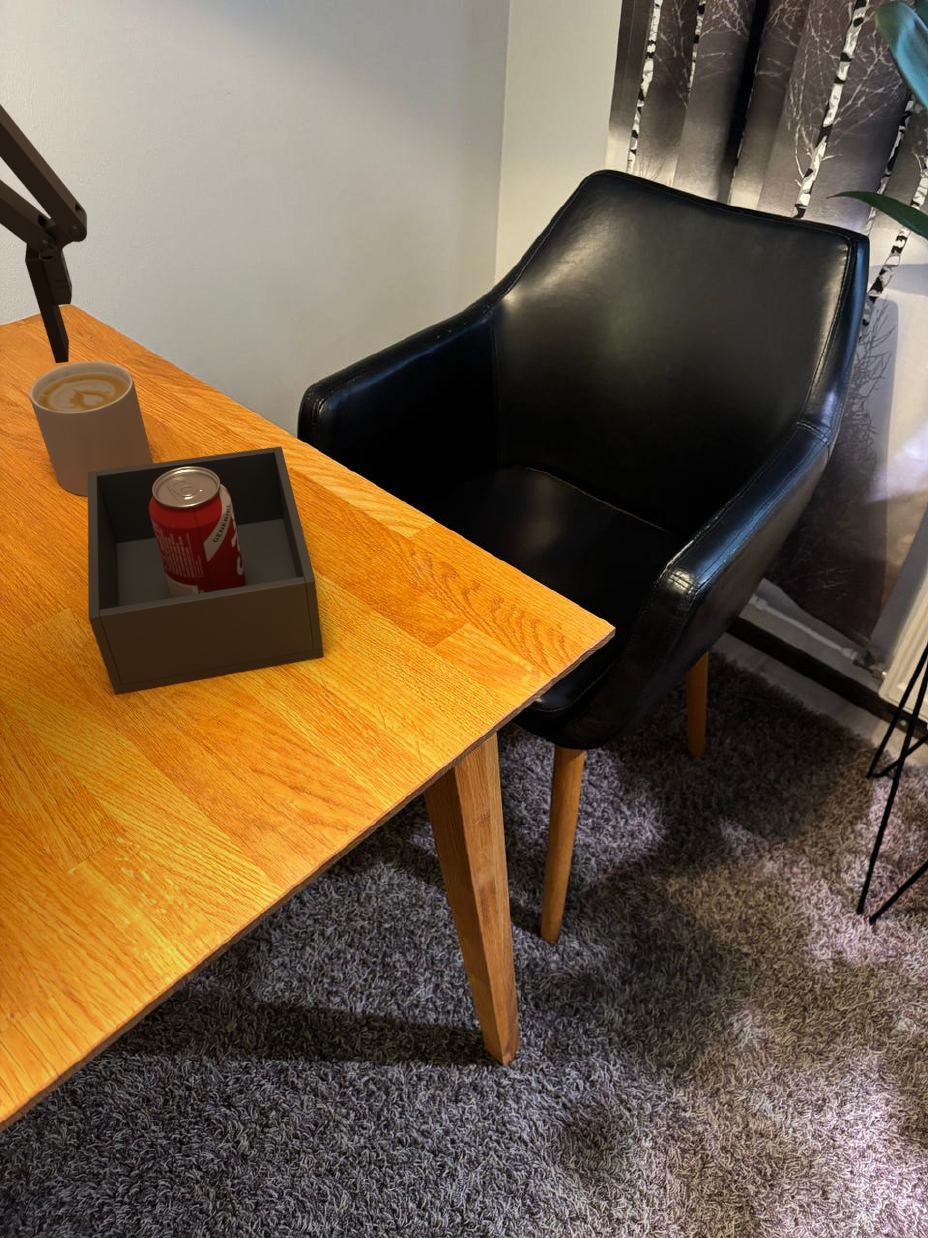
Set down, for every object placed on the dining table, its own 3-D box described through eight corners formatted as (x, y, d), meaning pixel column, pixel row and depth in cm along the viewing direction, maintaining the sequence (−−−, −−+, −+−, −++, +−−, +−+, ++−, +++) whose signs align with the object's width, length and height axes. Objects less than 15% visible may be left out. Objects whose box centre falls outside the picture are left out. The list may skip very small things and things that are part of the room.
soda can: (201, 628, 85) (176, 521, 77) (156, 592, 88) (127, 486, 80) (262, 591, 89) (244, 485, 80) (216, 557, 92) (195, 452, 84)
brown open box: (114, 694, 81) (88, 618, 75) (110, 547, 94) (87, 471, 88) (323, 657, 85) (315, 580, 78) (291, 520, 98) (281, 445, 92)
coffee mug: (152, 491, 101) (131, 407, 94) (52, 501, 99) (23, 417, 92) (153, 421, 110) (135, 340, 103) (62, 429, 108) (37, 348, 101)
